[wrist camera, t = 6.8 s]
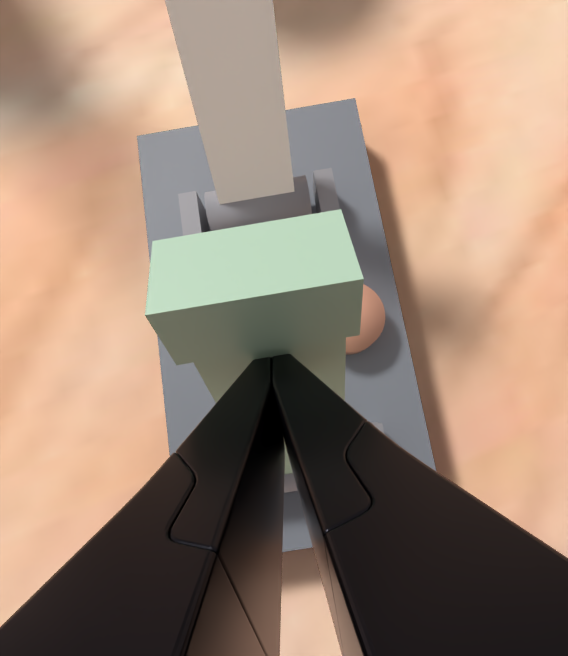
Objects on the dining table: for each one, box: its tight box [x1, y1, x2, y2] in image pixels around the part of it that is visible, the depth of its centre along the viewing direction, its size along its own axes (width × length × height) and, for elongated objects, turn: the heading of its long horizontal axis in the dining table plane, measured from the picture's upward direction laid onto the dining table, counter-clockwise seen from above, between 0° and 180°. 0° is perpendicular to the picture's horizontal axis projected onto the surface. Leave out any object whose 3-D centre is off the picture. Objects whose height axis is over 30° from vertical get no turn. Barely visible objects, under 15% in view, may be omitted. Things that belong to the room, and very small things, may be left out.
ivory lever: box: [165, 0, 312, 231], centre depth 15 cm, size 2×4×12 cm
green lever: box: [145, 209, 364, 493], centre depth 12 cm, size 2×4×12 cm, turn 98°
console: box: [137, 98, 436, 552], centre depth 19 cm, size 20×11×4 cm, turn 9°
